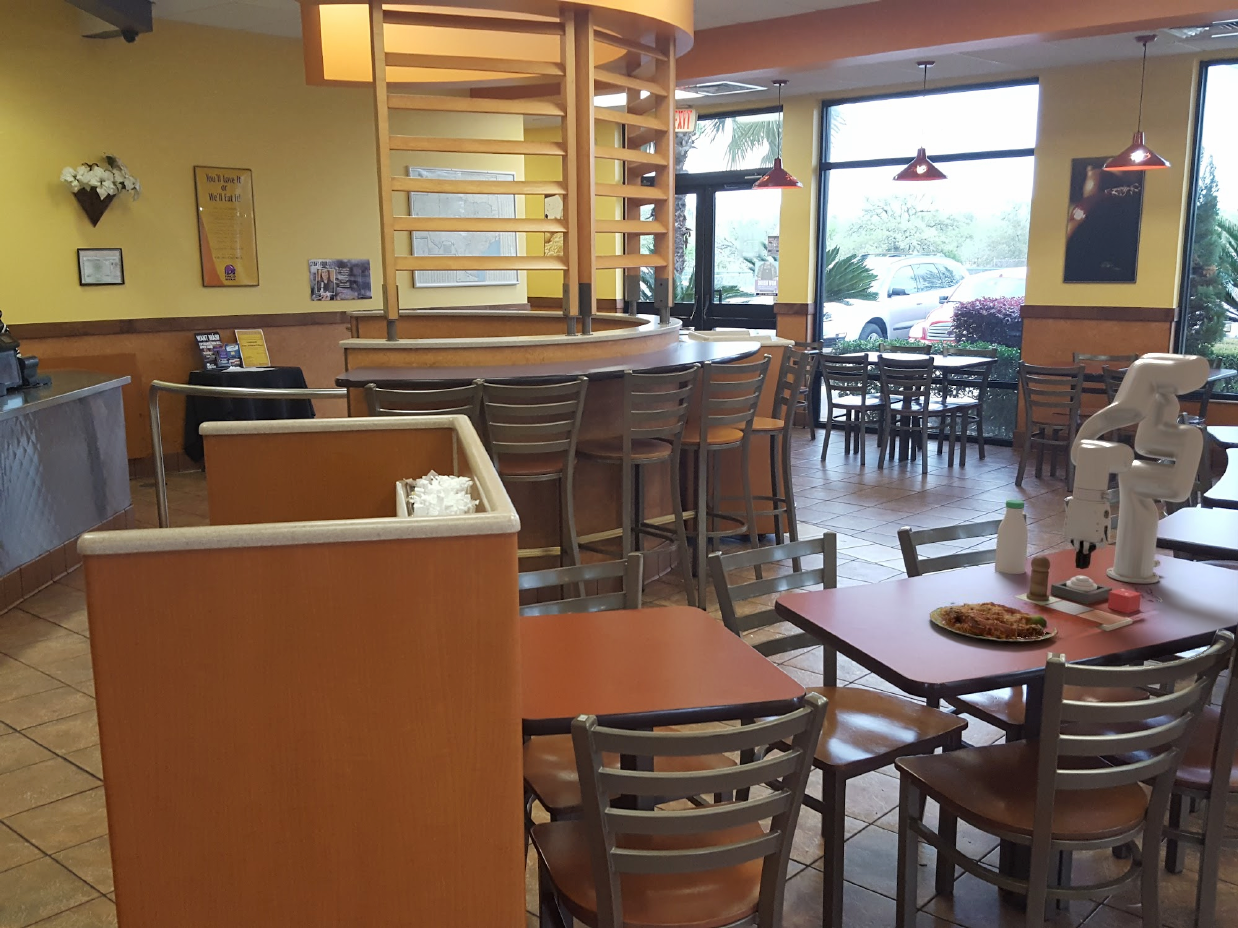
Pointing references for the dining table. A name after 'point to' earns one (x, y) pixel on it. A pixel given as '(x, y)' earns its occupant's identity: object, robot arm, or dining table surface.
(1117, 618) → the board
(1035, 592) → the wooden pepper mill
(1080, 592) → the dome housing
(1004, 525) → the milk bottle
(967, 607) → the rice dish
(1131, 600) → the die
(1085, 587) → the dome
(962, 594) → the dining table surface
